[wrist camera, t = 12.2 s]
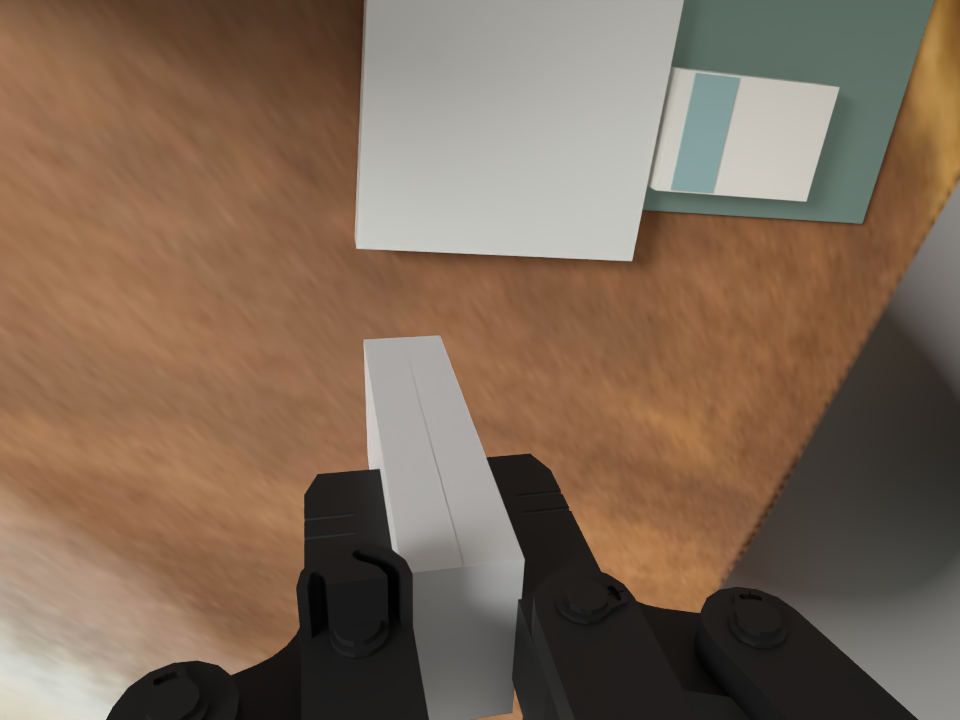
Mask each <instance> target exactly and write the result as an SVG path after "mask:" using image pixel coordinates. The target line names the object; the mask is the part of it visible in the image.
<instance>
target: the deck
mask: <svg viewBox="0 0 960 720" xmlns="http://www.w3.org/2000/svg"><path fill="white" fill-rule="evenodd" d="M683 3H684V0H364V16H363V41H362V66H361V91H360V116H359V141H358V166H357V192H356V217H355V242H356V248H357V249H377V250H399V251H421V252H442V253H464V254H486V255H508V256H530V257H551V258H573V259H595V260H617V261H632V259H633V254H634V249H635V244H636V239H637V234H638V229H639V224H640V219H641V214H642V209H643V204H644V199H645V194H646V189H647V184H648V179H649V174H650V168H651V163H652V158H653V153H654V148H655V143H656V138H657V133H658V128H659V123H660V118H661V113H662V108H663V103H664V98H665V93H666V88H667V83H668V78H669V73H670V68H671V63H672V58H673V53H674V48H675V43H676V38H677V33H678V28H679V23H680V18H681V13H682V8H683Z"/></svg>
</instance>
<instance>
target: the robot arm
mask: <svg viewBox="0 0 960 720" xmlns="http://www.w3.org/2000/svg"><path fill="white" fill-rule="evenodd" d="M364 362H365V390H366V418H367V446H368V462H369V469H370V470H361V471H349V472H338V473H326V474H318V475H317V476H316V478H315V479H314V481H313V482H312V484H311V485H310V487H309V489H308V490H307V492H306V493H305V495H304V518H305V522H304V537H305V541H304V569H303V570H302V571H301V573H300V577H299V580H298V584H297V587H296V591H297V601H298V612H299V622H300V628H299V630H298V632H297V634H296V635H295V636H294V638H293V639H292V640H291V641H290V642H289V643H288V645H287V646H286V647H285V648H283V649H282V650H281V651H279V652H278V653H277V654H275V655H274V656H273V657H271V658H269V659H267V660H265V661H263V662H261V663H259V664H257V665H255V666H253V667H250V668H248V669H245V670H243V671H241V672H238V673H236V674H233V675H230V674H229V673H227V672H226V671H225V670H223V669H222V668H221V667H219V666H218V665H214V664H210V663H206V662H201V661H189V662H179V663H172V664H170V665H167V666H165V667H162V668H160V669H157V670H154V671H152V672H149V673H148V674H147V675H145V676H144V677H142V678H141V679H140V680H138V681H137V682H135V683H134V684H133V685H131V686H130V687H128V689H127V690H126V691H125V692H124V694H123V695H122V696H121V698H120V699H119V700H118V701H117V703H116V704H115V705H114V706H113V708H112V710H111V712H110V713H109V715H108V717H107V719H106V720H470V719H476V718H482V717H489V716H495V715H502V714H508V713H512V710H513V697H514V688H515V691H516V694H517V698H518V701H519V704H520V708H521V711H522V715H523V720H918V719H917V718H916V717H915V716H913V715H912V714H911V713H910V712H909V711H908V710H907V709H906V708H905V707H904V706H902V705H901V704H900V703H899V702H898V701H897V700H896V699H895V698H893V697H892V696H891V695H890V694H889V693H888V692H887V691H886V690H885V689H883V688H882V687H881V686H880V685H879V684H878V683H877V682H876V681H875V680H873V679H872V678H871V677H870V676H869V675H868V674H867V673H866V672H865V671H863V670H862V669H861V668H860V667H859V666H858V665H857V664H855V663H854V662H853V661H852V660H851V659H850V658H849V657H848V656H847V655H845V654H844V653H843V652H842V651H841V650H840V649H839V648H838V647H837V646H835V645H834V644H833V643H832V642H831V641H830V640H829V639H828V638H827V637H825V636H824V635H823V634H822V633H821V632H820V631H819V630H818V629H817V628H815V627H814V626H813V625H812V624H811V623H810V622H809V621H808V620H806V619H805V618H804V617H803V616H802V615H801V614H800V613H799V612H797V611H796V610H795V609H794V608H792V607H791V606H789V605H788V604H787V603H785V602H784V601H782V600H781V599H779V598H778V597H775V596H773V595H770V594H768V593H765V592H763V591H760V590H757V589H749V588H742V587H733V588H728V589H721V590H718V591H717V592H715V593H714V594H712V595H711V596H709V597H708V598H707V599H706V601H705V603H704V606H703V608H702V610H701V613H693V612H686V611H678V610H671V609H663V608H658V607H653V606H649V605H645V604H643V603H640V602H638V601H636V600H635V598H634V596H633V595H632V594H631V593H630V591H629V590H628V589H627V588H626V586H625V585H624V584H623V583H621V582H619V581H618V580H616V579H615V578H613V577H612V576H610V575H608V574H606V573H603V572H601V570H600V568H599V566H598V564H597V562H596V560H595V558H594V556H593V554H592V552H591V550H590V548H589V546H588V544H587V542H586V540H585V538H584V536H583V534H582V532H581V530H580V528H579V526H578V524H577V522H576V520H575V518H574V516H573V514H572V512H571V511H569V506H568V504H567V502H566V500H565V498H564V496H563V494H561V490H560V488H559V486H558V484H557V482H556V480H555V478H554V476H553V474H552V472H551V470H550V469H549V468H547V467H546V466H545V465H544V464H542V463H541V462H540V461H539V460H537V459H536V458H535V457H534V456H532V455H531V454H521V455H509V456H498V457H486V456H485V453H484V451H483V448H482V445H481V443H480V440H479V437H478V435H477V432H476V429H475V427H474V424H473V422H472V419H471V416H470V414H469V411H468V408H467V406H466V403H465V400H464V398H463V395H462V392H461V390H460V387H459V384H458V382H457V379H456V376H455V374H454V371H453V369H452V366H451V363H450V361H449V358H448V355H447V353H446V350H445V347H444V345H443V342H442V339H441V337H440V336H423V337H404V338H385V339H366V340H364Z"/></svg>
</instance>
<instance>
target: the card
mask: <svg viewBox="0 0 960 720" xmlns="http://www.w3.org/2000/svg"><path fill="white" fill-rule="evenodd" d="M839 88H840V87H836V86H830V85H824V84H819V83H811V82H802V81H793V80H785V79H776V78H767V77H759V76H750V75H741V74H732V73H724V72H715V71H706V70H698V69H689V68H680V67H671V68H670V73H669V78H668V83H667V88H666V93H665V98H664V103H663V108H662V113H661V118H660V123H659V128H658V133H657V138H656V143H655V148H654V153H653V158H652V163H651V168H650V174H649V179H648V184H647V186H649V187H651V188H652V189H654V190H656V191H669V192H683V193H696V194H710V195H723V196H737V197H750V198H764V199H777V200H791V201H804V202H806V201H807V197H808V194H809V190H810V187H811V184H812V180H813V177H814V173H815V170H816V166H817V163H818V160H819V156H820V153H821V149H822V146H823V143H824V139H825V136H826V132H827V129H828V125H829V122H830V119H831V115H832V112H833V108H834V105H835V102H836V98H837V95H838V91H839Z"/></svg>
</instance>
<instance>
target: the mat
mask: <svg viewBox="0 0 960 720" xmlns="http://www.w3.org/2000/svg"><path fill="white" fill-rule="evenodd" d="M933 3H934V0H684V3H683V8H682V13H681V18H680V23H679V28H678V33H677V38H676V43H675V48H674V53H673V58H672V63H671V67H680V68H689V69H698V70H706V71H715V72H724V73H732V74H741V75H750V76H759V77H767V78H776V79H785V80H793V81H802V82H811V83H819V84H824V85H830V86H836V87H840V88H839V91H838V95H837V98H836V102H835V105H834V108H833V112H832V115H831V119H830V122H829V125H828V129H827V132H826V136H825V139H824V143H823V146H822V149H821V153H820V156H819V160H818V163H817V166H816V170H815V173H814V177H813V180H812V184H811V187H810V190H809V194H808V197H807V201H806V202H804V201H791V200H777V199H764V198H750V197H737V196H723V195H710V194H696V193H683V192H669V191H656V190H654V189H652V188H651V187H649V186H647V189H646V194H645V199H644V204H643V209H642V210H652V211H668V212H684V213H700V214H716V215H732V216H748V217H764V218H780V219H796V220H812V221H828V222H844V223H860V224H862V223H863V220H864V217H865V213H866V210H867V207H868V204H869V201H870V198H871V195H872V192H873V189H874V186H875V183H876V179H877V176H878V173H879V170H880V167H881V164H882V161H883V158H884V155H885V152H886V149H887V145H888V142H889V139H890V136H891V133H892V130H893V127H894V124H895V121H896V118H897V115H898V111H899V108H900V105H901V102H902V99H903V96H904V93H905V90H906V87H907V84H908V81H909V77H910V74H911V71H912V68H913V65H914V62H915V59H916V56H917V53H918V50H919V47H920V43H921V40H922V37H923V34H924V31H925V28H926V25H927V22H928V19H929V16H930V13H931V9H932V6H933Z"/></svg>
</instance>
